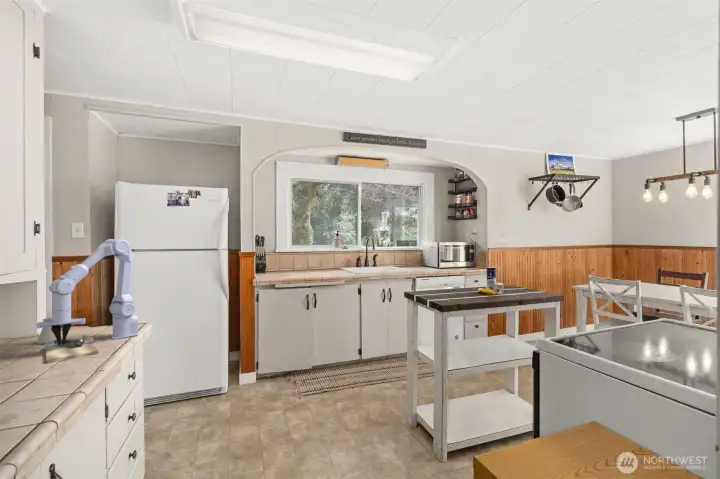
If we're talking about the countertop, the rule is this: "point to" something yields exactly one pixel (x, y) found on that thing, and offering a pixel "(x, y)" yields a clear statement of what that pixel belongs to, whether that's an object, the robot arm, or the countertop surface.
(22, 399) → the countertop surface
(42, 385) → the countertop surface
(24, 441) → the countertop surface
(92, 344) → the lock board
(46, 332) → the flask
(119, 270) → the robot arm
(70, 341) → the latch bar
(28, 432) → the countertop surface
